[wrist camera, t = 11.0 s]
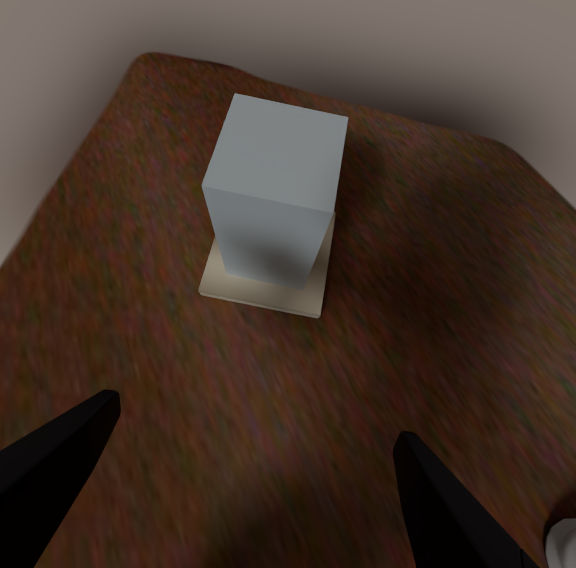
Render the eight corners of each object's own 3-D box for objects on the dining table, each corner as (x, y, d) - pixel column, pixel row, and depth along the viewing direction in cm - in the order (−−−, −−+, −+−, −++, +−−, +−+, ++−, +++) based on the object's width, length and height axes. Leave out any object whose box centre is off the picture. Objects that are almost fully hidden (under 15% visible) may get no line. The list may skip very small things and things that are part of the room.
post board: (318, 318, 23) (331, 300, 18) (200, 294, 23) (187, 271, 18) (333, 218, 26) (347, 184, 22) (230, 197, 26) (224, 159, 22)
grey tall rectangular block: (303, 290, 22) (333, 213, 13) (226, 274, 22) (201, 185, 13) (314, 224, 24) (348, 117, 15) (244, 209, 24) (234, 93, 15)
